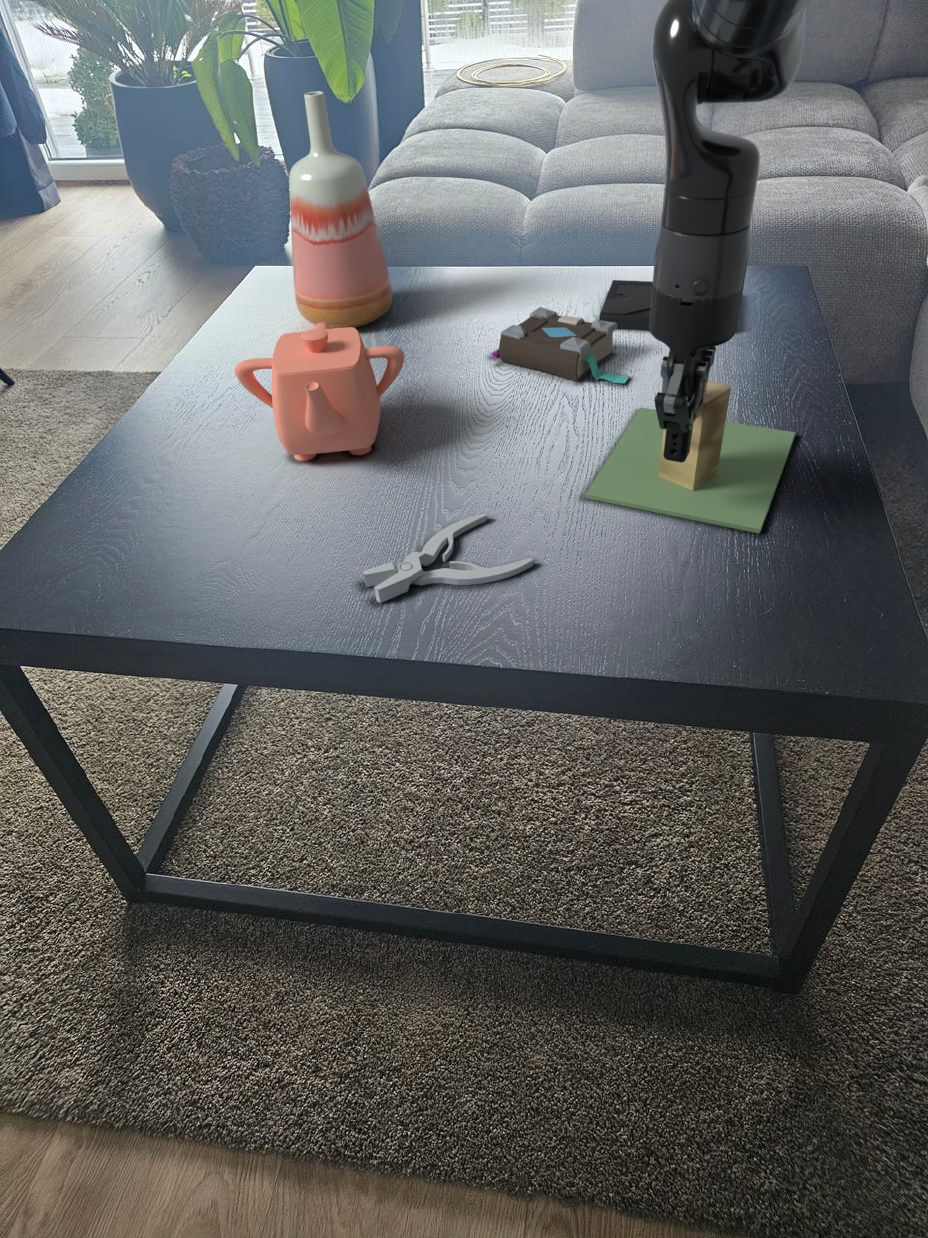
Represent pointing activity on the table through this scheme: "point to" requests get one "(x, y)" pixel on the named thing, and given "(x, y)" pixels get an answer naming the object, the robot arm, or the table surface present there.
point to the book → (559, 345)
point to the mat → (722, 500)
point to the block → (701, 441)
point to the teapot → (323, 390)
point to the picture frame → (628, 304)
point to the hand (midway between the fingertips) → (675, 457)
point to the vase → (334, 233)
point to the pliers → (410, 571)
